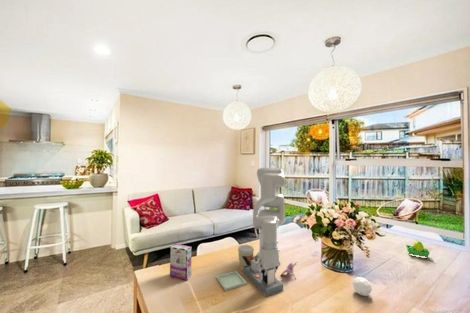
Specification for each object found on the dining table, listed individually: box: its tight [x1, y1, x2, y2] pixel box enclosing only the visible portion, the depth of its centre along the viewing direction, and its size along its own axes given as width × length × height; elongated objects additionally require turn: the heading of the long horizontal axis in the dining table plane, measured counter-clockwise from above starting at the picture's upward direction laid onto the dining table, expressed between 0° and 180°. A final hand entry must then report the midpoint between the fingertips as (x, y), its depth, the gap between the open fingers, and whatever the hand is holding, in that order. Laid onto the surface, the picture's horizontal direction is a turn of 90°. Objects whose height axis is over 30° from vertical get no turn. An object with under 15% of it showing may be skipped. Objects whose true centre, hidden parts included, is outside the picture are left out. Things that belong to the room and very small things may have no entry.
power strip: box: [243, 266, 284, 297], centre depth 108 cm, size 22×10×4 cm, turn 26°
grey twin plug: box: [251, 256, 259, 274], centre depth 113 cm, size 4×4×10 cm
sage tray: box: [216, 270, 247, 292], centre depth 108 cm, size 12×12×2 cm
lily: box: [280, 261, 298, 280], centre depth 112 cm, size 12×12×10 cm
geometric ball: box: [352, 276, 373, 297], centre depth 99 cm, size 8×8×8 cm
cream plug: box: [263, 268, 276, 286], centre depth 103 cm, size 4×4×10 cm
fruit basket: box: [405, 240, 431, 257], centre depth 140 cm, size 11×9×11 cm
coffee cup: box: [237, 244, 255, 271], centre depth 122 cm, size 9×9×12 cm
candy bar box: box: [169, 243, 193, 281], centre depth 113 cm, size 11×5×16 cm, turn 70°
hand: (268, 280), depth 103 cm, fingers closed on cream plug, 3 cm apart
